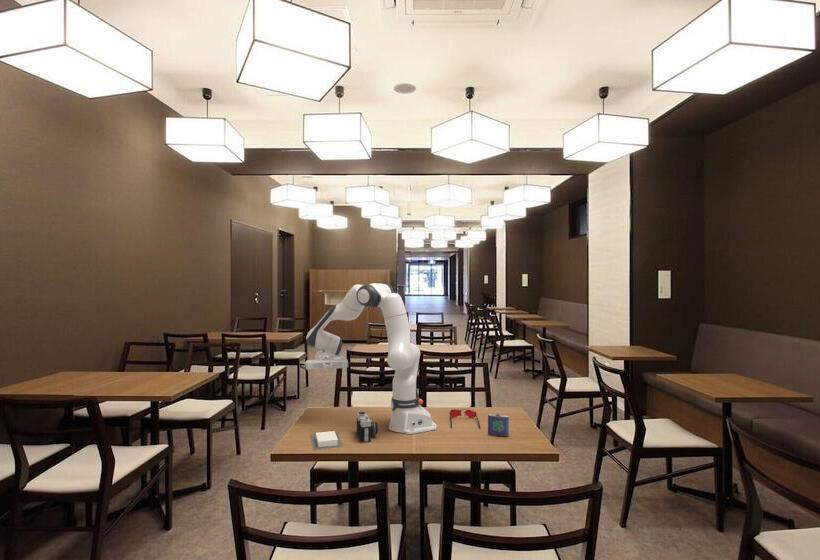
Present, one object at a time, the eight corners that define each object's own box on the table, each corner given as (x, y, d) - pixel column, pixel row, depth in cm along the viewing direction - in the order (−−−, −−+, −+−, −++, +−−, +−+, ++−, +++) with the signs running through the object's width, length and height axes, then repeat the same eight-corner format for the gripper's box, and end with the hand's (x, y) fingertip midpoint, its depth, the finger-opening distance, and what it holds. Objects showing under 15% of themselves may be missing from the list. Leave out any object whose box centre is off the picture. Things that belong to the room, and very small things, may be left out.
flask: (508, 435, 195) (508, 411, 195) (508, 437, 192) (508, 413, 192) (487, 433, 197) (488, 410, 197) (487, 435, 194) (487, 411, 194)
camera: (379, 442, 184) (378, 419, 185) (357, 444, 183) (356, 420, 183) (376, 431, 198) (376, 409, 198) (356, 433, 197) (355, 411, 197)
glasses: (476, 418, 220) (476, 409, 220) (480, 430, 203) (480, 419, 203) (448, 418, 220) (449, 408, 220) (450, 429, 204) (450, 418, 204)
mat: (337, 433, 196) (337, 432, 196) (343, 448, 178) (343, 447, 178) (310, 435, 192) (310, 434, 192) (313, 451, 175) (313, 450, 175)
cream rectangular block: (334, 431, 190) (337, 439, 179) (334, 436, 190) (337, 446, 179) (315, 432, 188) (318, 441, 177) (315, 438, 188) (318, 448, 177)
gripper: (304, 356, 215) (305, 361, 201) (345, 354, 221) (349, 359, 207) (304, 369, 215) (305, 375, 201) (345, 367, 221) (349, 372, 207)
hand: (328, 367), depth 204 cm, fingers closed
